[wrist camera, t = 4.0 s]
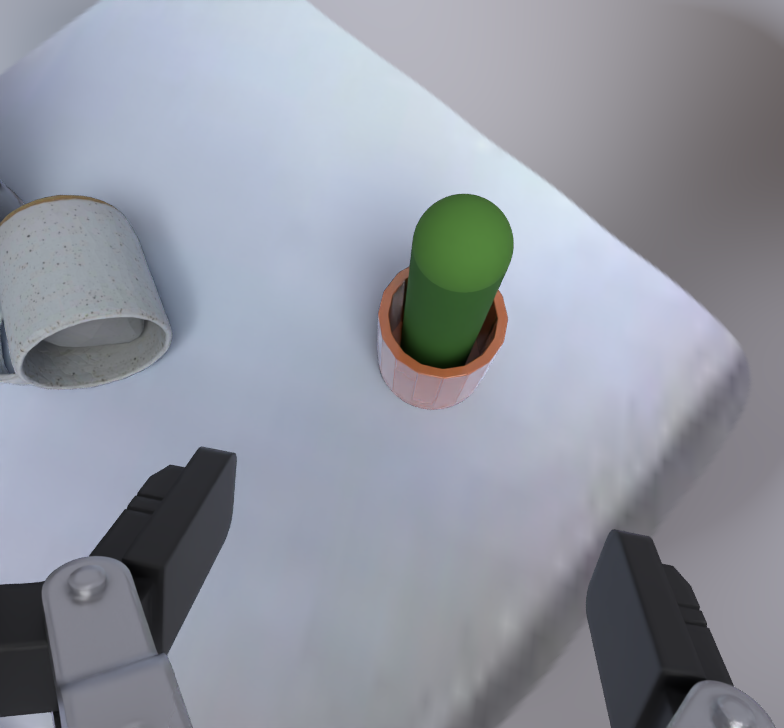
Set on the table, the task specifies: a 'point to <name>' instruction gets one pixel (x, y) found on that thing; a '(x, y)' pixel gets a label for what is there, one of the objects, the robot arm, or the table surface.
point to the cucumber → (453, 278)
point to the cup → (429, 382)
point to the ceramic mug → (76, 296)
